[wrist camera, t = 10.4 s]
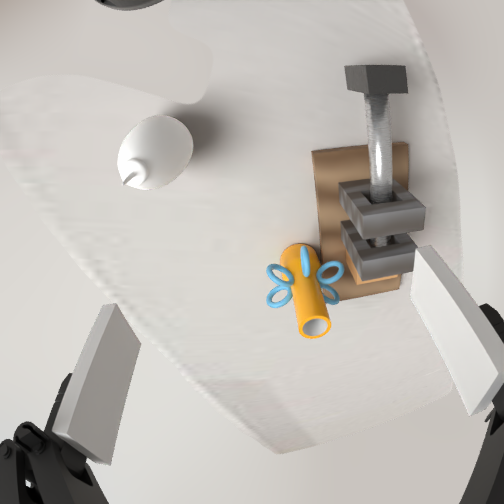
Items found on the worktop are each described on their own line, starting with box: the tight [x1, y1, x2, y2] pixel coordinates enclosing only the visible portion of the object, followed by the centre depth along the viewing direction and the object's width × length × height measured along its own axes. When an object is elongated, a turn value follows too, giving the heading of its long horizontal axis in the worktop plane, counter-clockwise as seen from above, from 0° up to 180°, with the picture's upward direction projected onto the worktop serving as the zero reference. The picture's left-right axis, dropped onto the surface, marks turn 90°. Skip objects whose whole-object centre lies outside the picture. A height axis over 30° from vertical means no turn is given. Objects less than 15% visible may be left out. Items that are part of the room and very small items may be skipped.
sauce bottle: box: [118, 115, 193, 190], centre depth 31 cm, size 8×8×18 cm
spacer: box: [346, 250, 398, 285], centre depth 44 cm, size 4×6×6 cm, turn 100°
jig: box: [311, 142, 426, 303], centre depth 41 cm, size 26×14×12 cm, turn 10°
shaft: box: [344, 65, 408, 247], centre depth 33 cm, size 22×4×7 cm, turn 10°
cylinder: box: [266, 244, 344, 339], centre depth 43 cm, size 12×10×15 cm
